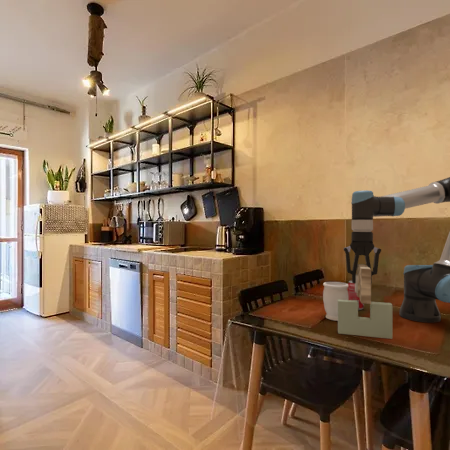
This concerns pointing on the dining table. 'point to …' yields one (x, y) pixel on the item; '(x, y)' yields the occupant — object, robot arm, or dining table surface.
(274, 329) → the dining table surface
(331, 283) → the jar
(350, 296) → the soda can
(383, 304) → the notched green slab
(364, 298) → the wooden arch block
